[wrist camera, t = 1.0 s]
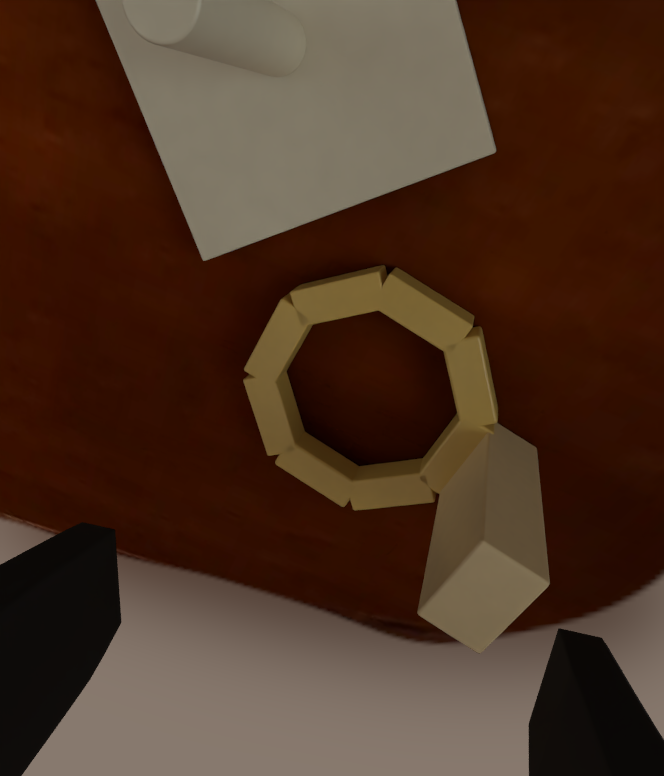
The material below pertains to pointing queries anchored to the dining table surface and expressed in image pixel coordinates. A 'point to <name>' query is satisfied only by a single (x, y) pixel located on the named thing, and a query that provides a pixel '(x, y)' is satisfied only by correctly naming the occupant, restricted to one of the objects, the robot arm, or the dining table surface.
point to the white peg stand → (297, 104)
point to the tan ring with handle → (438, 467)
